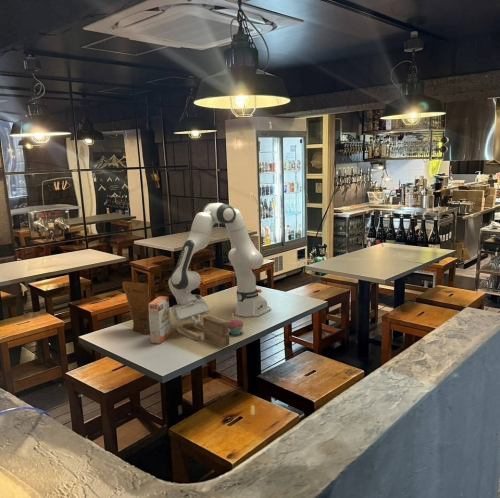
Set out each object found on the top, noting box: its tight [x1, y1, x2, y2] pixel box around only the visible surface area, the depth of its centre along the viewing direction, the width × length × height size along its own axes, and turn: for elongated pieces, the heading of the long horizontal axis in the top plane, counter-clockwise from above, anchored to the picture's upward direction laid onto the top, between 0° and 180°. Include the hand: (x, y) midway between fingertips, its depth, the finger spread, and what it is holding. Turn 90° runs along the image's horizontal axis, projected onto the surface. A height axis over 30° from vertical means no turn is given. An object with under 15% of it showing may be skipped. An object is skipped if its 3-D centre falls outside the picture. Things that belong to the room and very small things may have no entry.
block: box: [202, 314, 230, 348], centre depth 228 cm, size 5×14×12 cm, turn 43°
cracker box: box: [148, 295, 171, 345], centre depth 234 cm, size 14×6×21 cm, turn 168°
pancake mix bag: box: [121, 281, 151, 335], centre depth 244 cm, size 7×19×28 cm, turn 52°
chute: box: [175, 321, 204, 342], centre depth 242 cm, size 12×20×2 cm, turn 43°
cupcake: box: [228, 312, 244, 336], centre depth 239 cm, size 9×8×12 cm
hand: (198, 323), depth 239 cm, fingers closed
